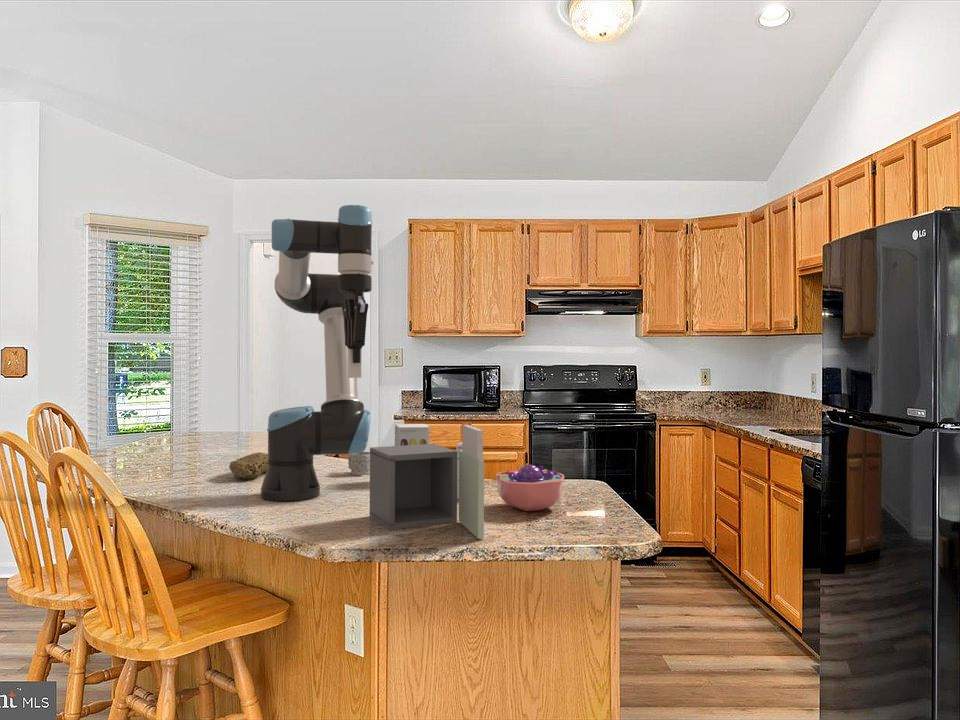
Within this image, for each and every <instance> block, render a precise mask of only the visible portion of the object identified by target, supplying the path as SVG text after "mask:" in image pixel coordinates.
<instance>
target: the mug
mask: <svg viewBox="0 0 960 720" xmlns="http://www.w3.org/2000/svg"><path fill="white" fill-rule="evenodd" d="M347 461H348V468H349V470H350V472H351V473H350V475H351V476H352V475H357V476H356V477H363V476H362V475H370V451H363V452H362V453H354V454H349V455H348V460H347ZM358 475H359V476H358Z"/></svg>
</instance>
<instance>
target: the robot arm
mask: <svg viewBox="0 0 960 720" xmlns="http://www.w3.org/2000/svg"><path fill="white" fill-rule="evenodd" d="M337 217H338V218H337V221H321V220H319V221H318V220H304V219H303V220H302V219H293V218H292V219H290V218H286V219H284V218H282V219H281V218H279V219H277V218H276V219H273V220H272V221H271V249H272V250H273V251H275V252H279V253H278V254H279V255H278V273H277V274H276V276H275V278H274V290H275V293H276V295H277V297H278V298H279V299H280V301H281V302H282V303H283V304H285V305H286V306H287V307H288V308H290V309H291V310H294V311H296V312H299V313H302V314H313V315H315V314H317V315H318V318H317V319H318V321H319V322H320V323H321V324H323V329H324V330H323V334H324V338H323V339H324V365H325V367H324V370H325V398H326V399H325V401H324V402H322V404H321V405H320V411H319V410H318V411H315V409H314V407H313V406H311V405H305V406H296V407H295V406H294V407H288V408H282V409H278V410H274V411H273V412H270V414H269V416H268V423H267V429H266V431H267V454H268V469H267V472H265V474H264V478H263V482H262V483H261V484H262V485H261V487H260V498H261V499H263V500H267V501H272V502H274V501H276V502H291V501H292V502H293V501H303V500H309V499H312V498H317V497H318V496H320V495H321V489H320V488H321V486H320V482H319V480H318V476H317V474H316V470H315V467H314V456H325V455H329V456H330V455H331V456H332V455H348V456H349V455H351V454H354V453H362V452H365V450H366V448H367V446H368V442H369V434H370V427H371V412H370V411H369V410H367V409H365V406H364V402H363V401H362V400H360V399H359V397H358V396H359V394H358V393H359V392H358V378H360V379H361V378H362V349H363V347H365V344H366V330H367V317H368V309H369V303H367V302H366V300H365V295H364V294H365V293H370V292H371V291H372V285H373V284H372V283H373V282H372V276H371V275H370V274H371V273H372V266H373V265H374V261H373V260H372V235H373V234H372V232H373V231H372V228H373V227H372V226H373V219H372V217H373V216H372V210H371V209H370V208H369V207H368V206H366V205H365V206H364V205H360V204H346V205H342V206H341V207H339V208H338V216H337ZM312 253H313V254H314V253H315V254H337V272H338V273H340V274H333V273H332V274H329V273H328V274H327V273H309V269H310V261H311V254H312Z"/></svg>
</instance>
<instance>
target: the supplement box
mask: <svg viewBox="0 0 960 720" xmlns="http://www.w3.org/2000/svg"><path fill="white" fill-rule="evenodd" d="M430 431H431V429H430V426H429V425H427V424H425V423H396V424H394V446H405V445H422V444H430Z"/></svg>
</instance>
